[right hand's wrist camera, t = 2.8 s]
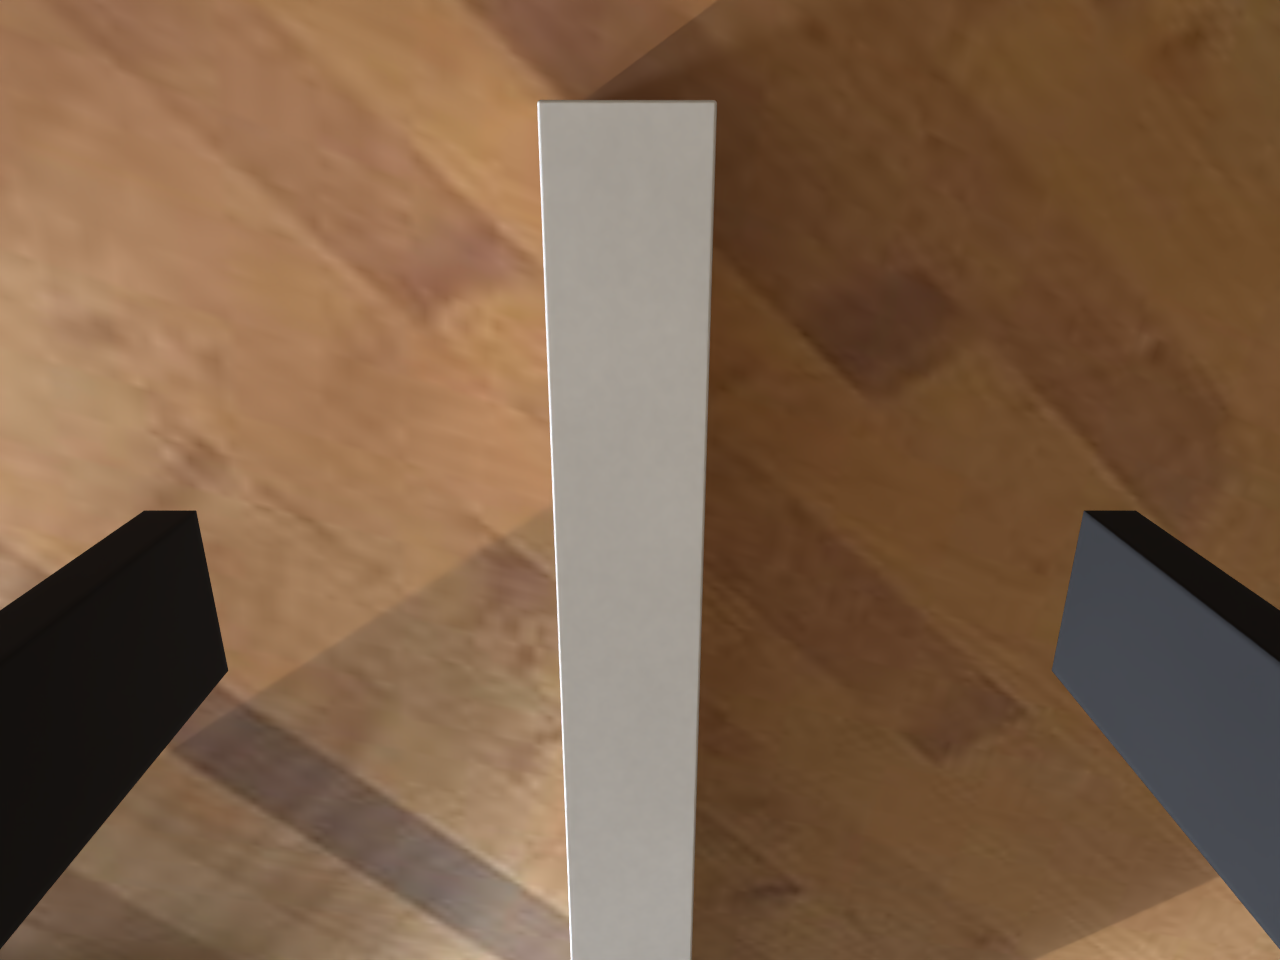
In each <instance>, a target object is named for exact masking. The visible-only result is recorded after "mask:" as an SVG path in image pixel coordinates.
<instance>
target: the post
mask: <svg viewBox="0 0 1280 960" xmlns="http://www.w3.org/2000/svg"><path fill="white" fill-rule="evenodd" d="M537 108H538V133H539V159H540V184H541V210H542V235H543V260H544V286H545V311H546V337H547V362H548V387H549V413H550V438H551V464H552V489H553V514H554V540H555V565H556V591H557V616H558V641H559V667H560V692H561V718H562V743H563V768H564V794H565V819H566V845H567V870H568V895H569V921H570V946H571V960H692V930H693V896H694V862H695V828H696V795H697V761H698V727H699V693H700V659H701V625H702V592H703V558H704V524H705V490H706V456H707V422H708V388H709V355H710V321H711V287H712V253H713V219H714V185H715V152H716V118H717V102H716V101H715V100H539V101H538V103H537Z"/></svg>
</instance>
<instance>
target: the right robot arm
mask: <svg viewBox="0 0 1280 960" xmlns="http://www.w3.org/2000/svg"><path fill="white" fill-rule="evenodd" d="M227 671H228V667H227V662H226V657H225V652H224V647H223V642H222V637H221V632H220V627H219V622H218V617H217V612H216V607H215V602H214V597H213V592H212V587H211V582H210V577H209V572H208V567H207V562H206V557H205V552H204V547H203V543H202V538H201V533H200V528H199V523H198V518H197V513H196V511H143V512H142V513H140V514H139V515H137V516H136V517H134V518H133V519H132V520H130V521H129V522H127V523H126V524H124V525H123V526H121V527H120V528H119V529H117V530H116V531H114V532H113V533H111V534H110V535H109V536H107V537H106V538H104V539H103V540H101V541H100V542H98V543H97V544H96V545H94V546H93V547H91V548H90V549H88V550H87V551H85V552H84V553H83V554H81V555H80V556H78V557H77V558H75V559H74V560H72V561H71V562H70V563H68V564H67V565H65V566H64V567H62V568H61V569H59V570H58V571H57V572H55V573H54V574H52V575H51V576H49V577H48V578H46V579H45V580H44V581H42V582H41V583H39V584H38V585H36V586H35V587H33V588H32V589H31V590H29V591H28V592H26V593H25V594H23V595H22V596H20V597H19V598H18V599H16V600H15V601H13V602H12V603H10V604H9V605H8V606H6V607H5V608H3V609H2V610H0V949H1V948H2V946H3V945H4V944H5V943H6V942H7V940H8V939H9V938H10V937H11V935H12V934H13V933H14V932H15V931H16V929H17V928H18V927H19V926H20V924H21V923H22V922H23V921H24V920H25V918H26V917H27V916H28V915H29V913H30V912H31V911H32V910H33V909H34V907H35V906H36V905H37V904H38V902H39V901H40V900H41V899H42V898H43V896H44V895H45V894H46V893H47V891H48V890H49V889H50V888H51V887H52V885H53V884H54V883H55V882H56V880H57V879H58V878H59V877H60V876H61V874H62V873H63V872H64V871H65V869H66V868H67V867H68V866H69V865H70V863H71V862H72V861H73V860H74V858H75V857H76V856H77V855H78V854H79V852H80V851H81V850H82V849H83V847H84V846H85V845H86V844H87V843H88V841H89V840H90V839H91V838H92V836H93V835H94V834H95V833H96V832H97V830H98V829H99V828H100V827H101V825H102V824H103V823H104V822H105V821H106V819H107V818H108V817H109V816H110V814H111V813H112V812H113V811H114V810H115V808H116V807H117V806H118V805H119V803H120V802H121V801H122V800H123V799H124V797H125V796H126V795H127V794H128V792H129V791H130V790H131V789H132V788H133V786H134V785H135V784H136V783H137V781H138V780H139V779H140V778H141V777H142V775H143V774H144V773H145V772H146V770H147V769H148V768H149V767H150V766H151V764H152V763H153V762H154V761H155V759H156V758H157V757H158V756H159V755H160V753H161V752H162V751H163V750H164V748H165V747H166V746H167V745H168V744H169V742H170V741H171V740H172V739H173V737H174V736H175V735H176V734H177V733H178V731H179V730H180V729H181V728H182V726H183V725H184V724H185V723H186V722H187V720H188V719H189V718H190V717H191V715H192V714H193V713H194V712H195V711H196V709H197V708H198V707H199V706H200V704H201V703H202V702H203V701H204V699H205V698H206V697H207V696H208V695H209V693H210V692H211V691H212V690H213V688H214V687H215V686H216V685H217V684H218V682H219V681H220V680H221V679H222V677H223V676H224V675H225V674H226V673H227ZM1052 671H1053V673H1054V674H1055V675H1056V676H1057V677H1058V679H1059V680H1060V681H1061V682H1062V684H1063V685H1064V686H1065V687H1066V688H1067V690H1068V691H1069V692H1070V693H1071V695H1072V696H1073V697H1074V698H1075V699H1076V701H1077V702H1078V703H1079V704H1080V706H1081V707H1082V708H1083V709H1084V711H1085V712H1086V713H1087V714H1088V715H1089V717H1090V718H1091V719H1092V720H1093V722H1094V723H1095V724H1096V725H1097V726H1098V728H1099V729H1100V730H1101V731H1102V733H1103V734H1104V735H1105V736H1106V737H1107V739H1108V740H1109V741H1110V742H1111V744H1112V745H1113V746H1114V747H1115V748H1116V750H1117V751H1118V752H1119V753H1120V755H1121V756H1122V757H1123V758H1124V759H1125V761H1126V762H1127V763H1128V764H1129V766H1130V767H1131V768H1132V769H1133V770H1134V772H1135V773H1136V774H1137V775H1138V777H1139V778H1140V779H1141V780H1142V781H1143V783H1144V784H1145V785H1146V786H1147V788H1148V789H1149V790H1150V791H1151V792H1152V794H1153V795H1154V796H1155V797H1156V799H1157V800H1158V801H1159V802H1160V803H1161V805H1162V806H1163V807H1164V808H1165V810H1166V811H1167V812H1168V813H1169V814H1170V816H1171V817H1172V818H1173V819H1174V821H1175V822H1176V823H1177V824H1178V825H1179V827H1180V828H1181V829H1182V830H1183V832H1184V833H1185V834H1186V835H1187V836H1188V838H1189V839H1190V840H1191V841H1192V843H1193V844H1194V845H1195V846H1196V847H1197V849H1198V850H1199V851H1200V852H1201V854H1202V855H1203V856H1204V857H1205V858H1206V860H1207V861H1208V862H1209V863H1210V865H1211V866H1212V867H1213V868H1214V869H1215V871H1216V872H1217V873H1218V874H1219V876H1220V877H1221V878H1222V879H1223V880H1224V882H1225V883H1226V884H1227V885H1228V887H1229V888H1230V889H1231V890H1232V891H1233V893H1234V894H1235V895H1236V896H1237V898H1238V899H1239V900H1240V901H1241V902H1242V904H1243V905H1244V906H1245V907H1246V909H1247V910H1248V911H1249V912H1250V913H1251V915H1252V916H1253V917H1254V918H1255V920H1256V921H1257V922H1258V923H1259V924H1260V926H1261V927H1262V928H1263V929H1264V931H1265V932H1266V933H1267V934H1268V935H1269V937H1270V938H1271V939H1272V940H1273V942H1274V943H1275V944H1276V945H1277V946H1278V948H1279V949H1280V610H1278V609H1277V608H1275V607H1274V606H1272V605H1271V604H1270V603H1268V602H1267V601H1265V600H1264V599H1262V598H1261V597H1259V596H1258V595H1257V594H1255V593H1254V592H1252V591H1251V590H1249V589H1248V588H1247V587H1245V586H1244V585H1242V584H1241V583H1239V582H1238V581H1236V580H1235V579H1234V578H1232V577H1231V576H1229V575H1228V574H1226V573H1225V572H1223V571H1222V570H1221V569H1219V568H1218V567H1216V566H1215V565H1213V564H1212V563H1210V562H1209V561H1208V560H1206V559H1205V558H1203V557H1202V556H1200V555H1199V554H1197V553H1196V552H1195V551H1193V550H1192V549H1190V548H1189V547H1187V546H1186V545H1184V544H1183V543H1182V542H1180V541H1179V540H1177V539H1176V538H1174V537H1173V536H1171V535H1170V534H1169V533H1167V532H1166V531H1164V530H1163V529H1161V528H1160V527H1159V526H1157V525H1156V524H1154V523H1153V522H1151V521H1150V520H1148V519H1147V518H1146V517H1144V516H1143V515H1141V514H1140V513H1138V512H1137V511H1084V513H1083V518H1082V523H1081V528H1080V533H1079V538H1078V542H1077V547H1076V552H1075V557H1074V562H1073V567H1072V572H1071V577H1070V582H1069V587H1068V592H1067V597H1066V602H1065V607H1064V612H1063V617H1062V622H1061V627H1060V632H1059V637H1058V642H1057V647H1056V652H1055V657H1054V662H1053V667H1052Z"/></svg>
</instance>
